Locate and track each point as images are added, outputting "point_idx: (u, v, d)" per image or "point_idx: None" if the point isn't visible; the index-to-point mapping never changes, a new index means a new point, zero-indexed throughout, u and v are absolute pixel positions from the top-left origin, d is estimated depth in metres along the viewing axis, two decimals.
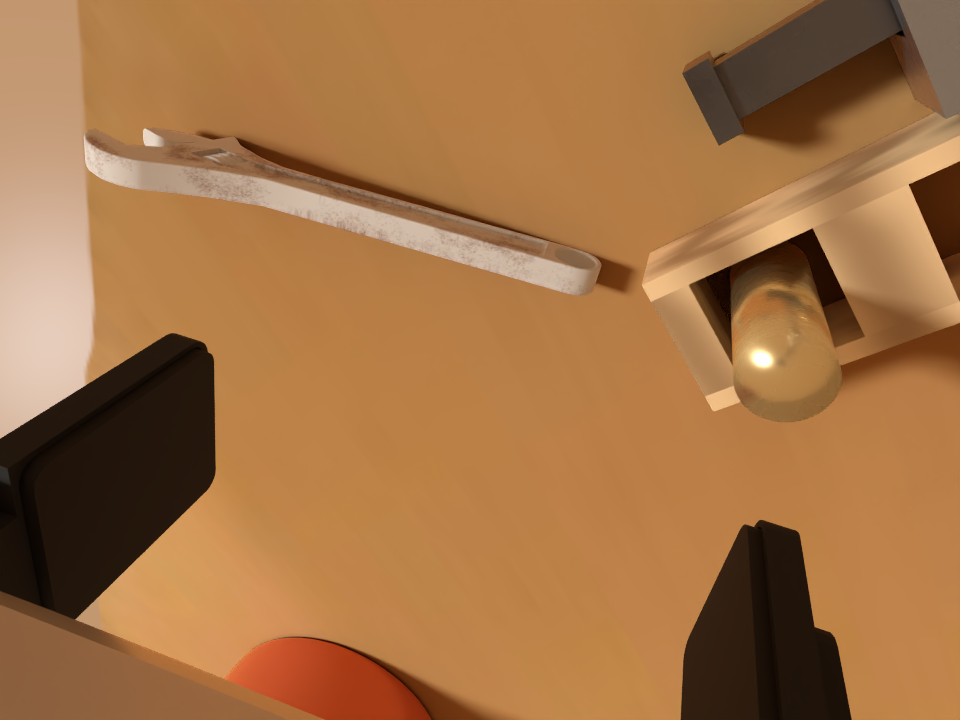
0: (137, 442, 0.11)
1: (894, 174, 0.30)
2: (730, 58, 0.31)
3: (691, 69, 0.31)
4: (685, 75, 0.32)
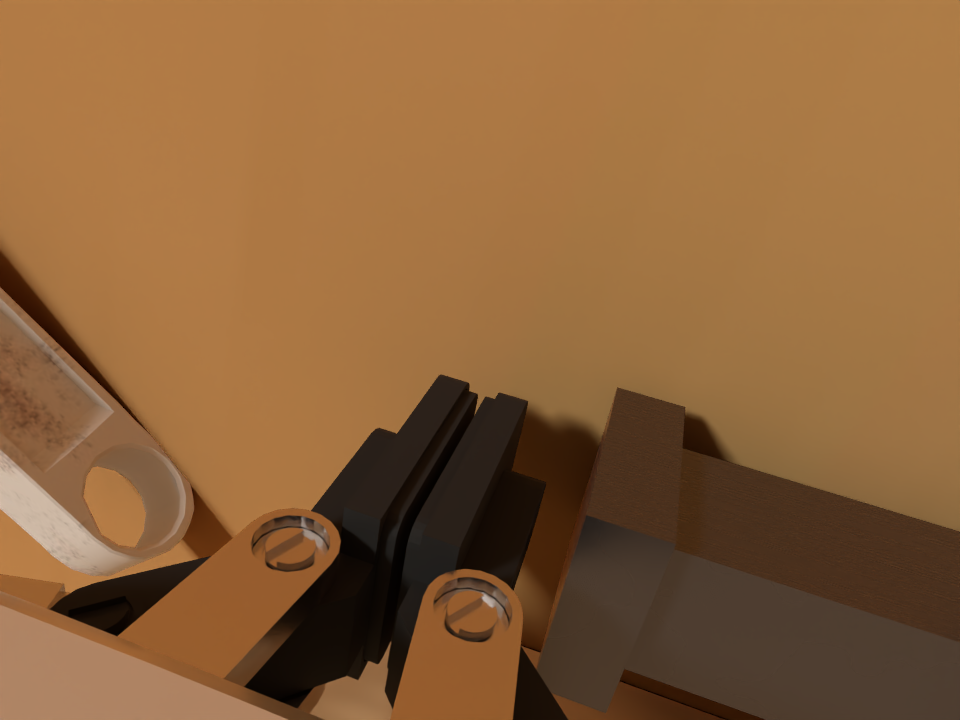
0: None
1: None
2: (720, 567, 0.10)
3: (615, 526, 0.09)
4: (589, 523, 0.10)
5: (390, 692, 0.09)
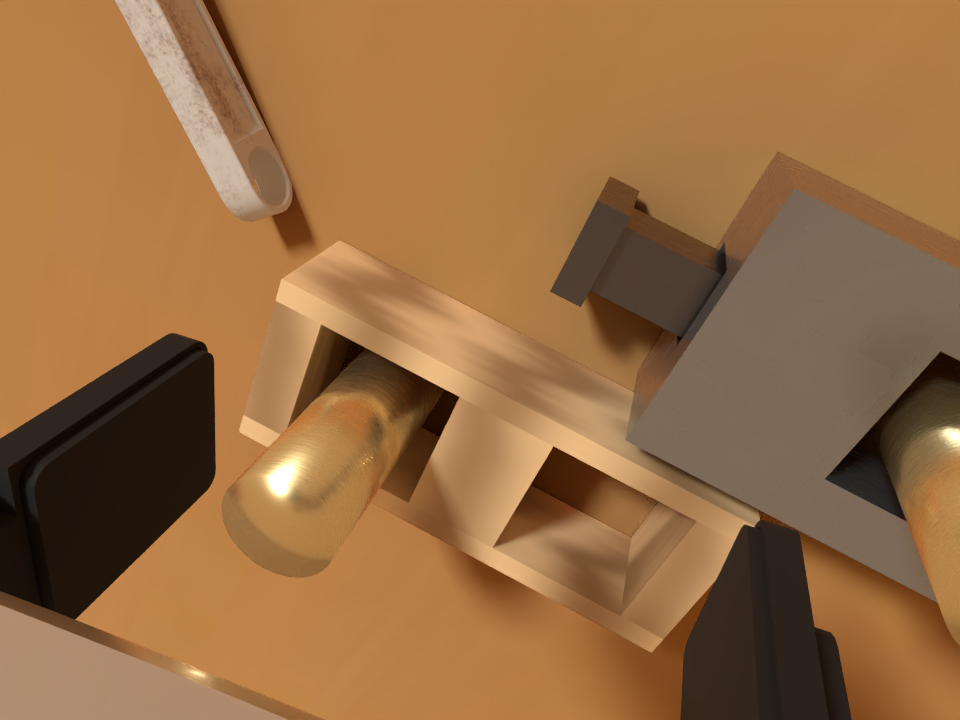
0: (137, 442, 0.11)
1: (553, 429, 0.27)
2: (644, 237, 0.24)
3: (607, 207, 0.23)
4: (597, 205, 0.23)
5: None
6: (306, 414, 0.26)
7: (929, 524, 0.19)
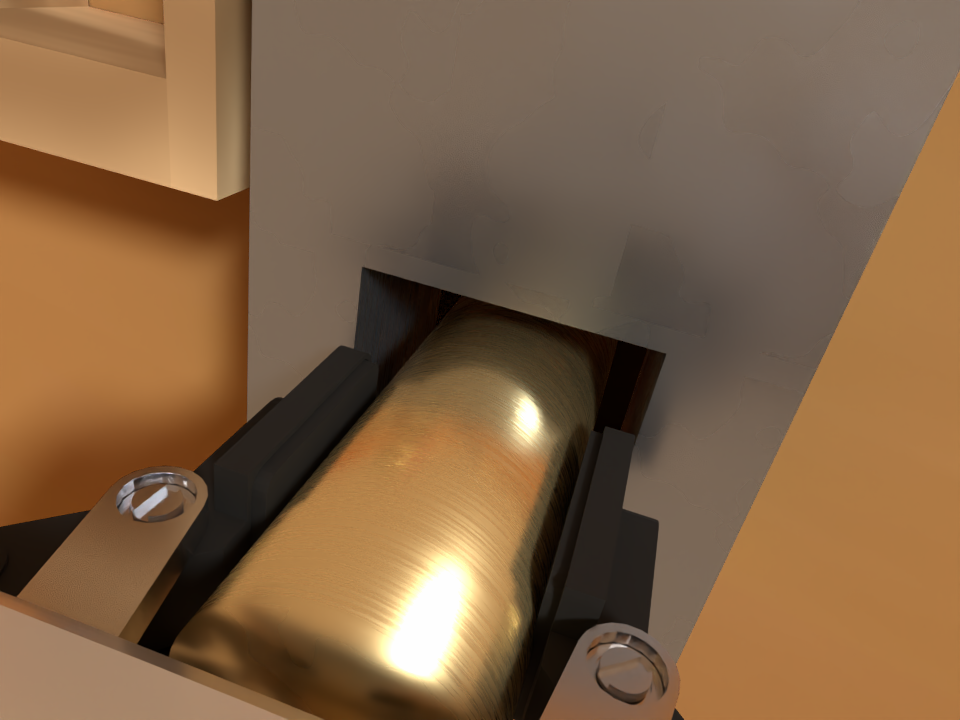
0: (327, 450, 0.11)
1: None
2: None
3: None
4: None
5: None
6: None
7: (387, 479, 0.09)
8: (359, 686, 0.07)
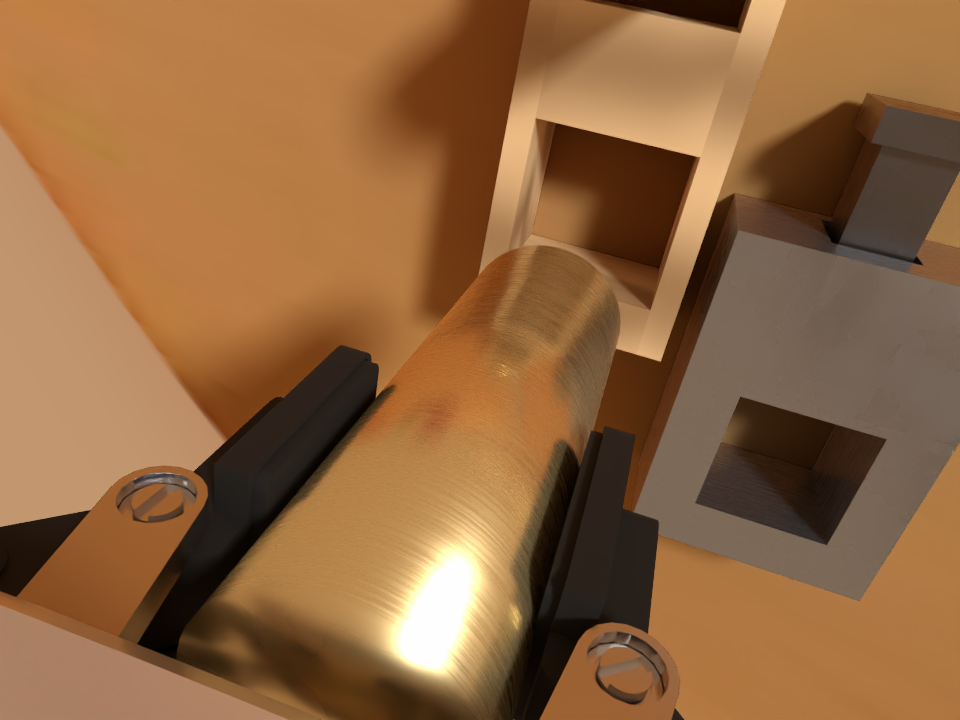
0: (327, 450, 0.11)
1: (722, 152, 0.25)
2: (951, 183, 0.24)
3: None
4: None
5: None
6: None
7: (391, 471, 0.09)
8: (365, 672, 0.08)
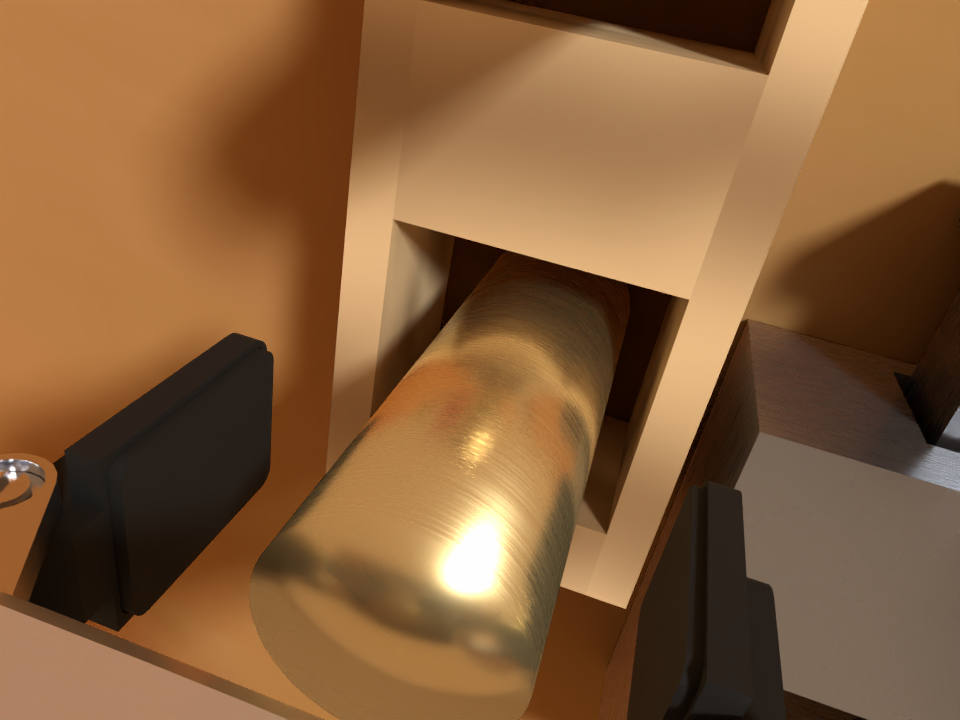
0: (207, 438, 0.11)
1: (730, 294, 0.13)
2: None
3: None
4: None
5: None
6: None
7: (435, 426, 0.10)
8: (421, 592, 0.09)
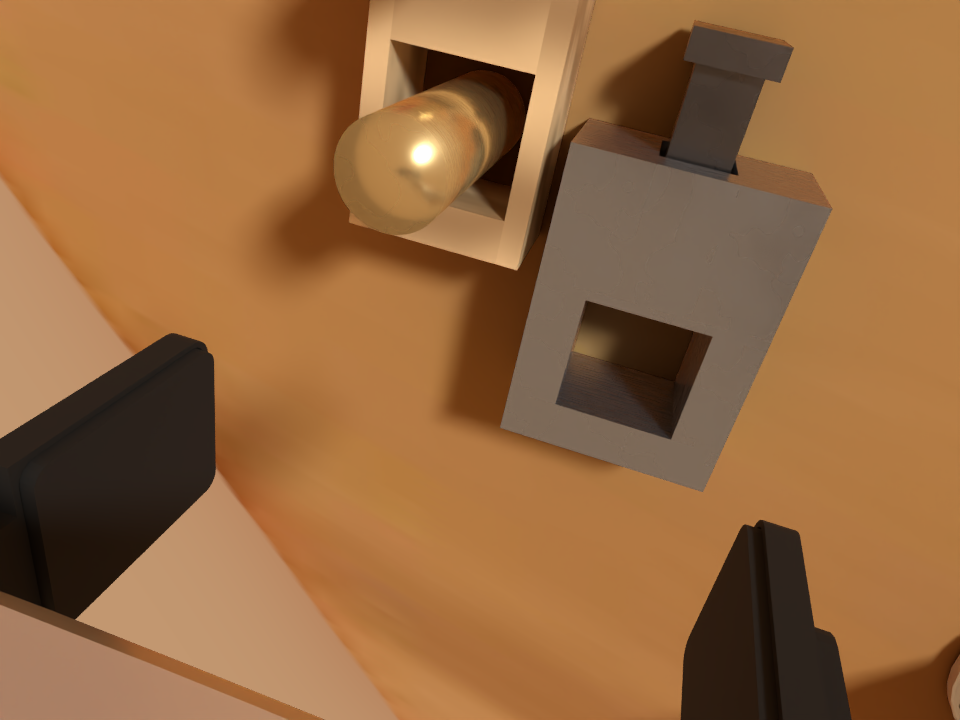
0: (137, 442, 0.11)
1: (554, 70, 0.27)
2: (756, 98, 0.27)
3: (787, 59, 0.26)
4: (789, 49, 0.26)
5: None
6: None
7: (410, 101, 0.24)
8: (404, 143, 0.23)
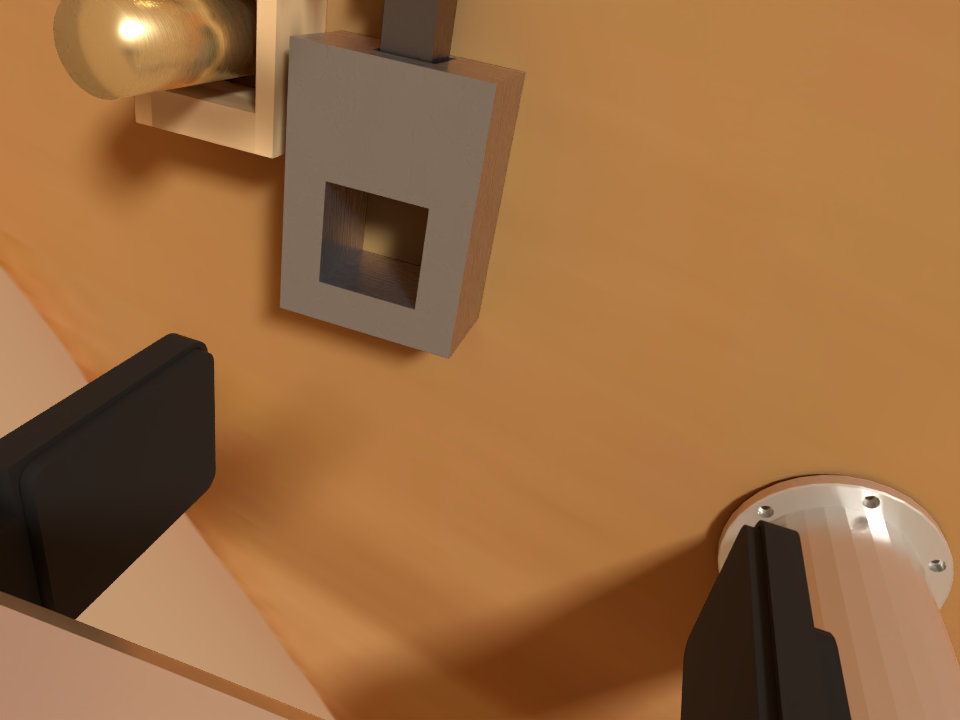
0: (137, 442, 0.11)
1: None
2: None
3: None
4: None
5: None
6: None
7: None
8: (101, 17, 0.28)
